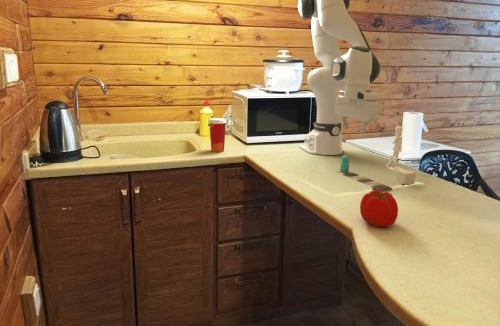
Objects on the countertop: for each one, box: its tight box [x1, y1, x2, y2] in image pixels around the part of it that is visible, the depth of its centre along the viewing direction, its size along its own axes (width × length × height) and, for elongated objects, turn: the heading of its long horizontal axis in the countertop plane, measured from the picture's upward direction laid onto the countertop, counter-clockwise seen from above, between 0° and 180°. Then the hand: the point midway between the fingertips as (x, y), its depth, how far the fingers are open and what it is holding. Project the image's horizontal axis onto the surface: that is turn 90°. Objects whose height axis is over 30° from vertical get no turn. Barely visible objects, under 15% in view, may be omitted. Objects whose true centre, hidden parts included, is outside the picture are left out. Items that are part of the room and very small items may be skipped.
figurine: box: [385, 125, 405, 172], centre depth 161 cm, size 8×8×18 cm
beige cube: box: [395, 169, 416, 186], centre depth 146 cm, size 4×4×4 cm
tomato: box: [359, 190, 399, 228], centre depth 109 cm, size 11×11×9 cm
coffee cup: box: [208, 117, 227, 153], centre depth 190 cm, size 8×8×15 cm
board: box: [335, 170, 393, 192], centre depth 148 cm, size 24×6×1 cm, turn 25°
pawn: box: [339, 154, 350, 174], centre depth 156 cm, size 3×3×7 cm
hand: (353, 130), depth 152 cm, fingers open, 8 cm apart
